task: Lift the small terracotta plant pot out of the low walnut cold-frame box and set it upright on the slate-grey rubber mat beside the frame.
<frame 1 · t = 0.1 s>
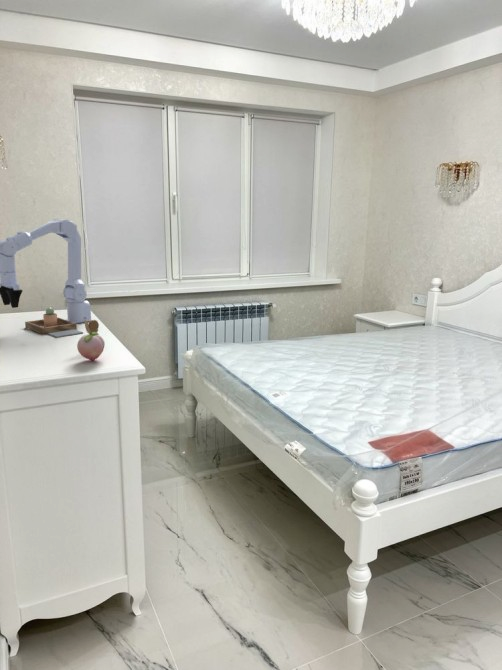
hand: (10, 306, 198), 10 cm above the table, fingers open, 7 cm apart
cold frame: (51, 328, 206), on the table
mat: (65, 333, 197), on the table
snail figurine: (92, 349, 178), on the table
terracotta pot: (50, 318, 205), in the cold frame
decorative fruit: (91, 361, 163), on the table
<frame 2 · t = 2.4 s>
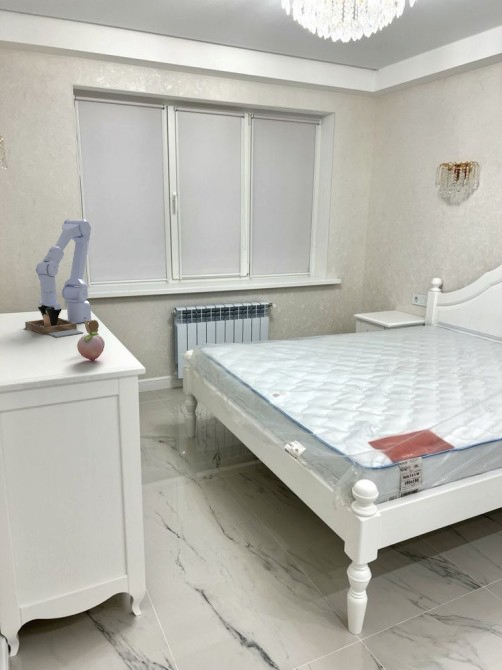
hand: (50, 324, 205), 2 cm above the table, fingers closed on terracotta pot, 5 cm apart
terracotta pot: (50, 318, 205), in the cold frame, touching gripper
everything else where it was.
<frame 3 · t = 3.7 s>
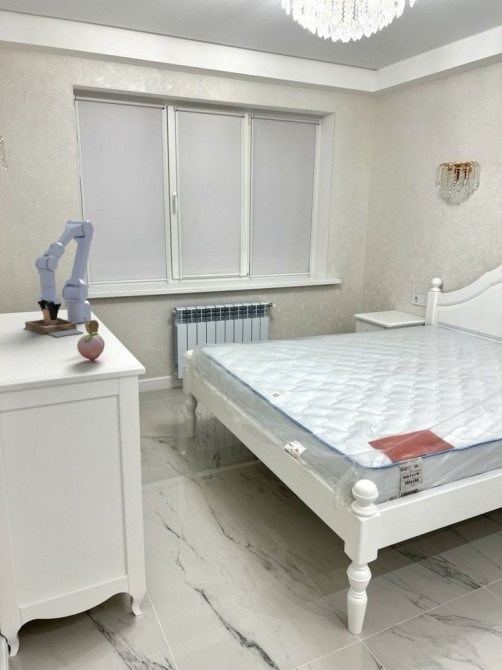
hand: (50, 318, 205), 4 cm above the table, fingers closed on terracotta pot, 5 cm apart
terracotta pot: (50, 312, 204), point 7 cm above the table, touching gripper
everything else where it was.
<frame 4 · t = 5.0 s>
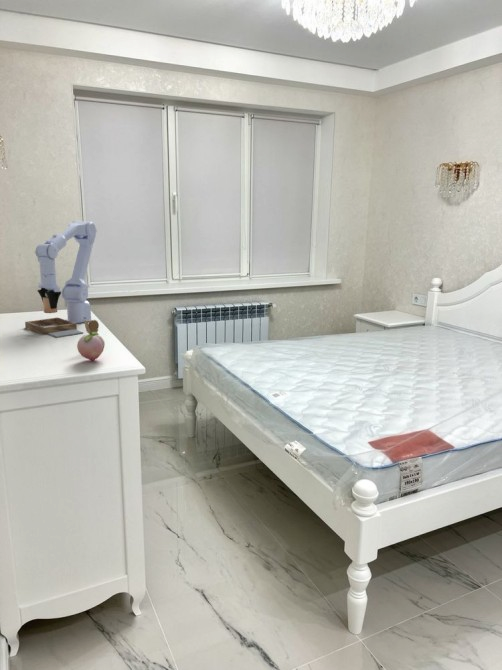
hand: (50, 307, 203), 9 cm above the table, fingers closed on terracotta pot, 5 cm apart
terracotta pot: (49, 301, 202), point 12 cm above the table, touching gripper
everything else where it was.
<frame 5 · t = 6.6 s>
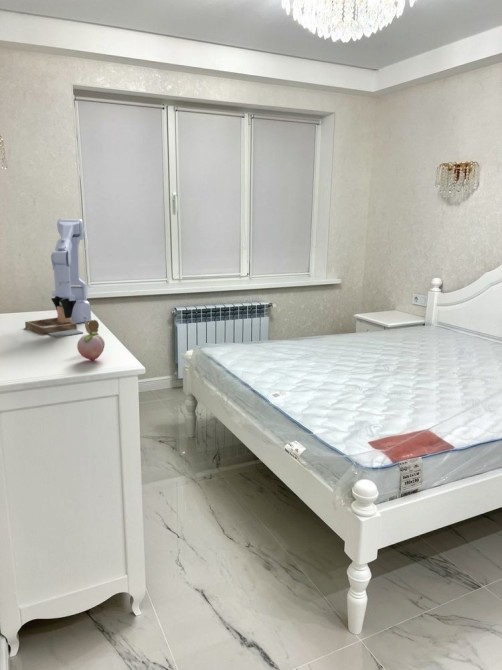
hand: (64, 316, 196), 7 cm above the table, fingers closed on terracotta pot, 5 cm apart
terracotta pot: (64, 310, 195), point 10 cm above the table, touching gripper
everything else where it was.
when the fingers open (3 cm above the table, at t = 7.9 s): terracotta pot drops 1 cm, resting on mat.
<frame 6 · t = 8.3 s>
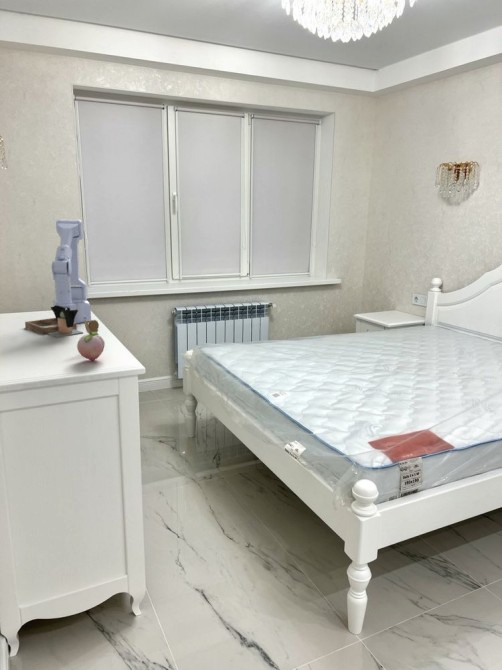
hand: (65, 325, 197), 3 cm above the table, fingers open, 7 cm apart
terracotta pot: (64, 321, 196), on the mat
everything else where it was.
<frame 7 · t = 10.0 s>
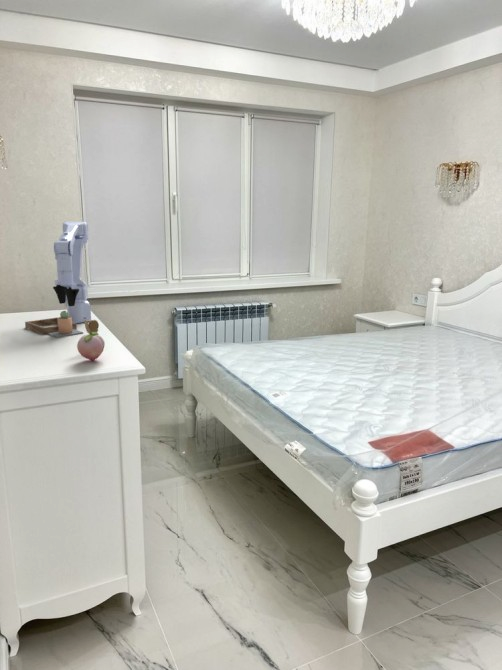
hand: (66, 304, 202), 10 cm above the table, fingers open, 7 cm apart
nothing on the table moved.
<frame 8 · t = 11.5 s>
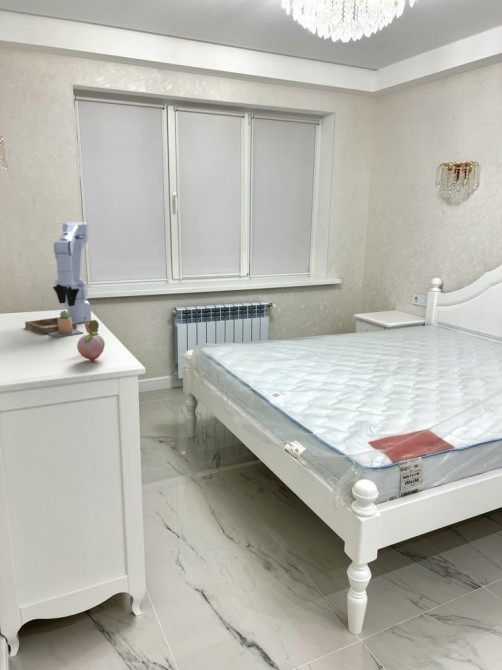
hand: (66, 304, 202), 10 cm above the table, fingers open, 7 cm apart
nothing on the table moved.
at the end: terracotta pot 0.0 cm off-centre on the mat, point 4.9 cm above the mat's base; terracotta pot tilted 0°; the gripper is holding nothing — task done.
